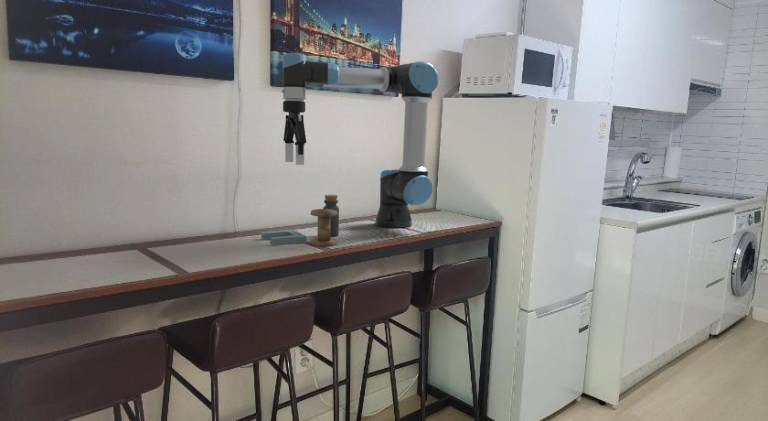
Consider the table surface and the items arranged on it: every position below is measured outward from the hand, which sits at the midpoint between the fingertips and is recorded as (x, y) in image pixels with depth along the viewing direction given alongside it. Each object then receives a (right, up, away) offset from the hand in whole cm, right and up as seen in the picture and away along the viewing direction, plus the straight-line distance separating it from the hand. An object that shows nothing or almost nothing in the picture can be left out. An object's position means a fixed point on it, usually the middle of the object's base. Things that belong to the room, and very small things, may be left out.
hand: (294, 163), depth 187 cm
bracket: (-4, -27, +3) cm, 27 cm away
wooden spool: (+10, -28, 0) cm, 30 cm away
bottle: (+11, -26, +14) cm, 32 cm away
